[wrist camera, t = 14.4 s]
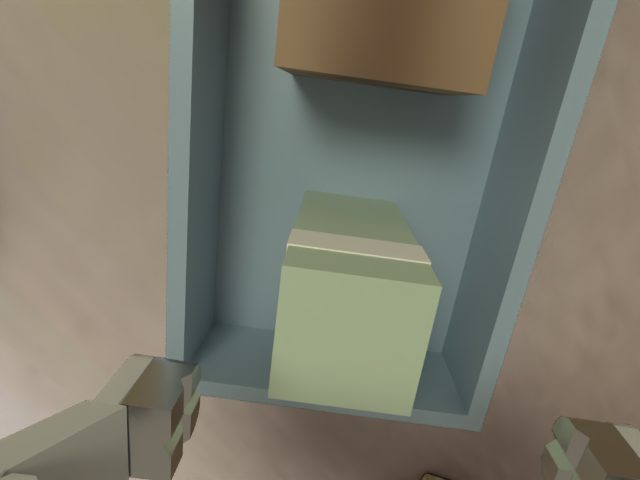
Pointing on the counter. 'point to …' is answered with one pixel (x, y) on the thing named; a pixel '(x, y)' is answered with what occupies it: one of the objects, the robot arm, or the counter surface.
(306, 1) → the walnut block
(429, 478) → the skincare box
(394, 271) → the carton
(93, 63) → the counter surface
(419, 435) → the counter surface
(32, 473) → the robot arm
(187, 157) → the tote
